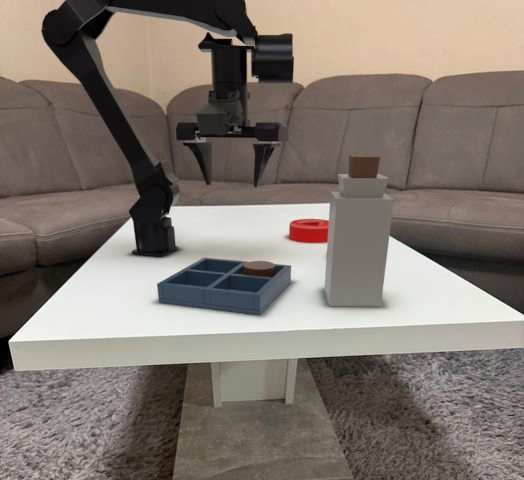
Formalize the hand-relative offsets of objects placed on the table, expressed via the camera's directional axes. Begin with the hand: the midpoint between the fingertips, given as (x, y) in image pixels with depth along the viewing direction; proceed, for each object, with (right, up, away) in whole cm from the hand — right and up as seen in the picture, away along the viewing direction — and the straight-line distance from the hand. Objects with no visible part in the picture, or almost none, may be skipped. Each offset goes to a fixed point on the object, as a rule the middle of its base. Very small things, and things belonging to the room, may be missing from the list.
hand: (232, 186), depth 81 cm
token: (+5, -19, -14) cm, 24 cm away
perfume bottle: (+18, -22, -18) cm, 33 cm away
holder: (+1, -21, -15) cm, 26 cm away
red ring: (+16, -5, +17) cm, 24 cm away
